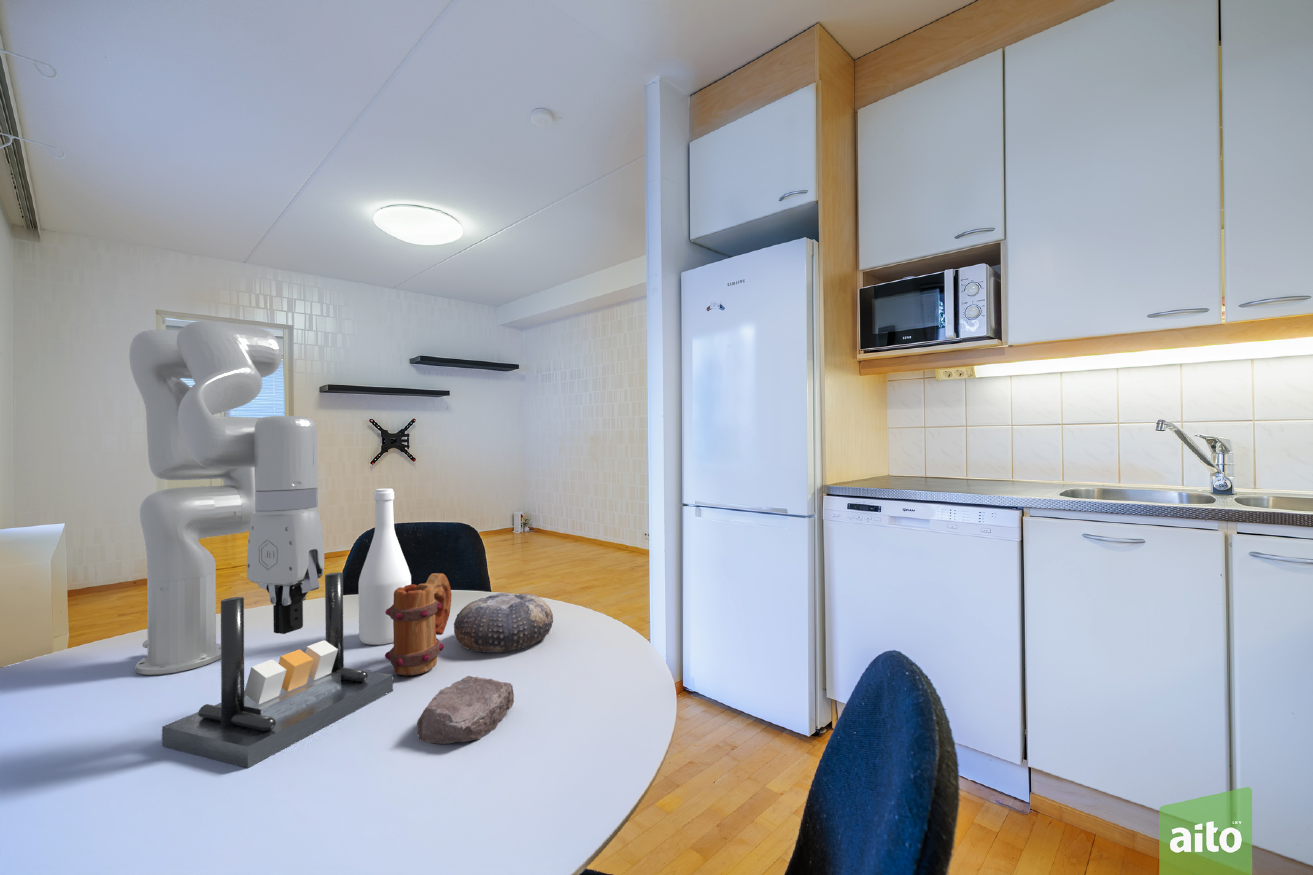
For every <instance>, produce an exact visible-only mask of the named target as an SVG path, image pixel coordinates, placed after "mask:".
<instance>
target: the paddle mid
mask: <svg viewBox="0 0 1313 875" xmlns="http://www.w3.org/2000/svg"><path fill="white" fill-rule="evenodd" d="M312 663H313V658H311V657H310V656H308V655H307V654H306V653H305V652H304V651H303V650H302V649H296V650H294V651H291V652H288V653H286V654H283V655H281V656H280V657H279V660H278V664H279V665H281V666H282V667H284V668H285V669H286V674H285V677H284V680H283V684H282V687H281V688H283V689H284V690H285V691H287V692H289V691H291V690H293V689H296V688H298V687H300V686H302V685H305V684H306V683H307V679H308V676H309V673H310V669H311V666H312Z"/></svg>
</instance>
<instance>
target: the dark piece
mask: <svg viewBox="0 0 1313 875" xmlns="http://www.w3.org/2000/svg"><path fill="white" fill-rule="evenodd" d="M324 588H325V590H324V591H325V593H324V601H325V604H324V606H325V608H324V609H325V610H324V611H325V615H324V616H325V618H324V619H325V641H326V642H328V643H329V644H331V645H332V646H334V647H335V648H337V649H338V651H337V655H336V658H335V661H334V665H333V668H332V671H331V673H330V674H328V675H325V676H323V677H321V678H319V679H316V680H312V679H311V678H310V677H308V679H307V683H306V684H305V685H302V686H300V687H298V688H296V689H293V690H291V691H289V692H287V691H285V690H284V689H283V688H281V691H280V694H279V696H277V697H275V698H273V699H270V700H268V701H266V702H263V703H261V704H259V705H258V704H257V703H256V702H254V701H253V700H252V699H250V698H249V697H248V696H247V695H245V694H244V691H245V597H243V596H234V597H229V598H224V599H222V600H220V644H221V658H220V684H221V685H220V695H221V696H220V701H221V702H218V703H216V704H214V705H213V704H209V703H208V704H204V705H202V706H201V707H200V709H198V711H197V712H195V713H192V714H189V715H187V716H185V717H182V718H180V719H177V720H175V721H173V722H171V723H168V724H167V723H166V724H165V725H163V726H162V727H161V737H162V739H161V745H162V747H164V748H168V749H173V750H175V751H180V752H184V753H187V754H191V755H195V756H199V757H202V758H208V759H211V760H216V761H219V762H223V763H225V764H230V765H235V766H239V767H242V768H247V769H248V768H252V767H253V766H255V765H256V764H258V763H260V762H263V761H264V760H266V759H268V758H270V757H272V756H273V755H276V754H277V753H279V752H281V751H283V750H284V749H286V748H288V747H290V746H292V745H294V744H297V743H298V742H300V741H301V740H304V739H305V738H307V737H309V736H312V734H315V733H316V732H318V731H320V730H322V729H324V728H326V727H328V726H329V725H331V724H333V723H335V722H337V721H339V720H341V719H343V718H345V717H347V716H349V715H350V714H352V713H354V712H356V711H358V710H360V709H361V708H364V707H365V706H367V705H369V704H371V703H373V702H375V701H377V700H378V699H381V698H382V697H384V696H386V695H387V694H386V693H388V694H390V693H392V692H393V691H394V685H393V684H394V682H393V681H394V677H393V676H394V675H393V674H390V673H384V672H376V671H370V670H363V669H358V668H350V667H345V665H344V664H345V661H344V659H345V658H344V652H345V651H344V644H345V642H344V573H343V572H331V573H326V574H325V575H324ZM391 691H392V692H391ZM389 692H390V693H389ZM381 696H382V697H381ZM376 699H377V700H376Z"/></svg>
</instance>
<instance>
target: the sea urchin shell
mask: <svg viewBox="0 0 1313 875" xmlns="http://www.w3.org/2000/svg"><path fill="white" fill-rule="evenodd" d="M553 623H554V615H553V611H552V609H551V607H550V605H548V603H547V602H546V601H545V600H544V599H542V598H541V597H540V596H537V595H536V594H531V593H518V594H515V593H512V592H499V593H495V594H492V595H488V596H486V597H482V598H478V599H477V600H473V601H471V602H469V603H468V604H466V605H465V606H464V607H463V608H461V610H460V611H459V613H458V614H456V618H455V620H454V623H453V633H454V636H455V638H456V641H457V642H458V644H460V645H461V646H462V647H463V648H465V649H467V650H469V651H474V650H476V651H477V652H481V653H490V652H491V653H492V652H494V653H507V651H508V652H513V651H518V650H521V649H523V648H525V647H530V646H532V645H535V644H536V643H538V642H540V641H542V640H543V639H545V638H546V637H547V635H548V634H550V632H551V629H552V627H553Z"/></svg>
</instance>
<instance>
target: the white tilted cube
mask: <svg viewBox="0 0 1313 875" xmlns="http://www.w3.org/2000/svg"><path fill="white" fill-rule="evenodd" d="M285 674H286V669H285V668H284V667H282V666H281V665H279V662H277V661H275V660H274V659H269V660H267V661H264V662H261V663H259V664H256V665H252V666H251V668H250V671H249V674H248V678H247V681H246V685H245V687H244V694H245V695H247V696H248V697H249V698H250V699H252V700H253V701H254V702H256V703H257V704H258V705H259V704H261V703H263V702H266V701H268V700H270V699H273V698H275V697H277V696H279V694H280V691H281V687H282V684H283V680H284V677H285Z"/></svg>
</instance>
